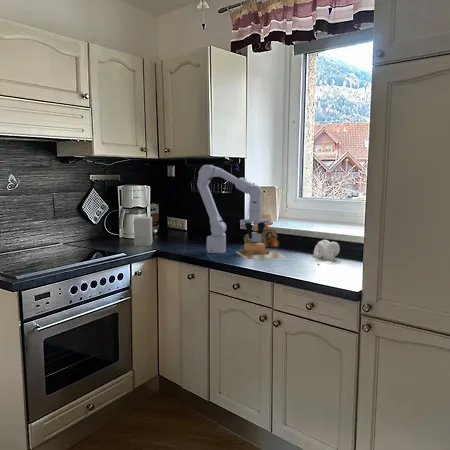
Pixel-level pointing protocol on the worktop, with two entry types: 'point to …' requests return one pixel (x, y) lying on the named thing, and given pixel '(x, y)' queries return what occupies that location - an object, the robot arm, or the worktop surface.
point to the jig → (259, 254)
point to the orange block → (254, 247)
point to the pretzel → (326, 250)
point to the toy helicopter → (266, 237)
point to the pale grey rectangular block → (256, 237)
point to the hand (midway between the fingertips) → (254, 238)
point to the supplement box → (143, 231)
